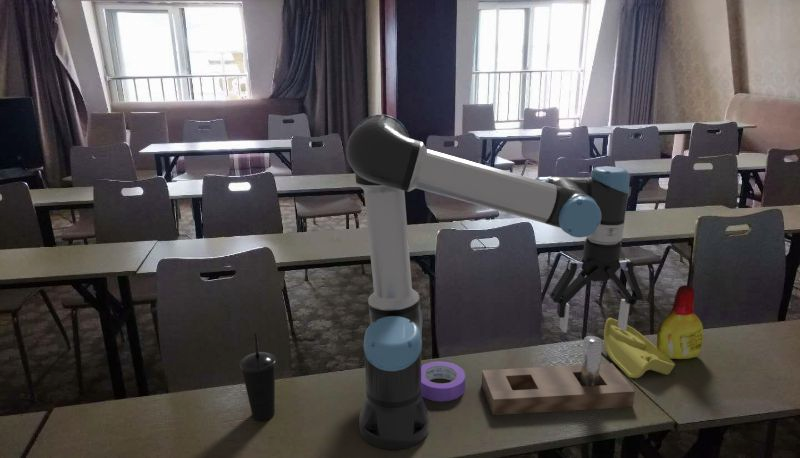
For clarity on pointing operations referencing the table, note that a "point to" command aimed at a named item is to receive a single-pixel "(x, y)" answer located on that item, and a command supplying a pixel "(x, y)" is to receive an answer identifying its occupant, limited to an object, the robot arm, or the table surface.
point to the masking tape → (446, 389)
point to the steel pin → (591, 361)
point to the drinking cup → (260, 382)
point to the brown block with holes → (554, 390)
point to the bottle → (681, 328)
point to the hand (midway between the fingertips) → (592, 328)
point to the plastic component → (634, 351)
